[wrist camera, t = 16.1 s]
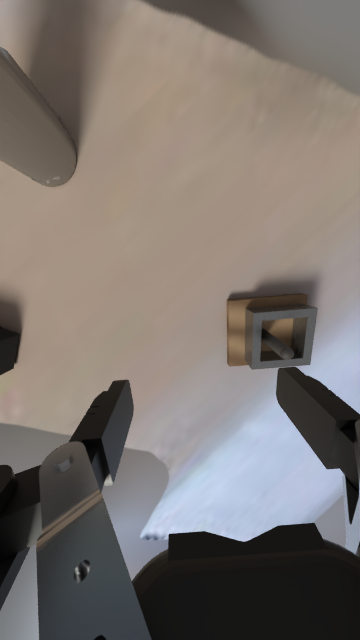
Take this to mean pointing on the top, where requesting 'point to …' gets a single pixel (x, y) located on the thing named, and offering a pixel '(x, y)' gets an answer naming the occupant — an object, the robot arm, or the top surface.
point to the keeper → (273, 331)
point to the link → (299, 343)
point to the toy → (7, 350)
